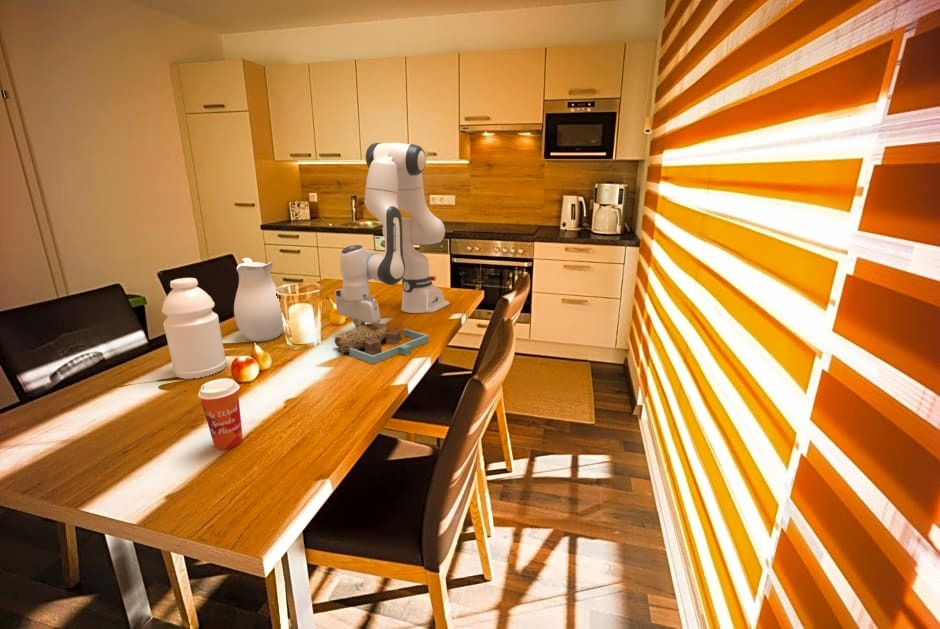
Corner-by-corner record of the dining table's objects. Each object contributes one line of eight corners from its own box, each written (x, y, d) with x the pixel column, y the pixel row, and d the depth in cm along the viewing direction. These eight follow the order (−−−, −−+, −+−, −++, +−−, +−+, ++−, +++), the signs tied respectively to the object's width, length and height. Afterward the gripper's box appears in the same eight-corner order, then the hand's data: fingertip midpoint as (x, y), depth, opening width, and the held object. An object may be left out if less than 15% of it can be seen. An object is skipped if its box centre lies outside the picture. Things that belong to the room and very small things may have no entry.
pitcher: (294, 338, 165) (283, 261, 157) (242, 348, 156) (229, 267, 148) (278, 321, 184) (268, 252, 176) (232, 329, 175) (219, 257, 167)
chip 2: (390, 340, 162) (389, 329, 161) (401, 341, 161) (400, 330, 160) (386, 344, 158) (385, 333, 157) (397, 345, 158) (397, 334, 156)
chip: (375, 349, 154) (374, 338, 153) (381, 352, 151) (380, 341, 150) (364, 352, 151) (364, 341, 150) (370, 356, 148) (369, 344, 147)
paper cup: (207, 456, 96) (194, 396, 92) (210, 438, 103) (199, 381, 99) (248, 447, 99) (237, 388, 95) (249, 430, 106) (239, 374, 102)
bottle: (164, 374, 136) (143, 282, 128) (207, 358, 148) (190, 273, 140) (195, 383, 130) (175, 287, 122) (237, 365, 142) (221, 277, 134)
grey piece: (405, 335, 167) (404, 328, 166) (434, 343, 158) (433, 336, 157) (349, 355, 149) (348, 348, 148) (379, 366, 140) (378, 358, 139)
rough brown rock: (347, 360, 148) (401, 336, 157) (338, 338, 146) (393, 315, 155) (335, 355, 159) (386, 332, 168) (327, 334, 157) (379, 312, 166)
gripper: (383, 295, 155) (385, 334, 159) (346, 287, 168) (349, 322, 172) (368, 299, 151) (371, 339, 155) (331, 290, 163) (335, 327, 167)
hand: (359, 330), depth 163 cm, fingers closed
